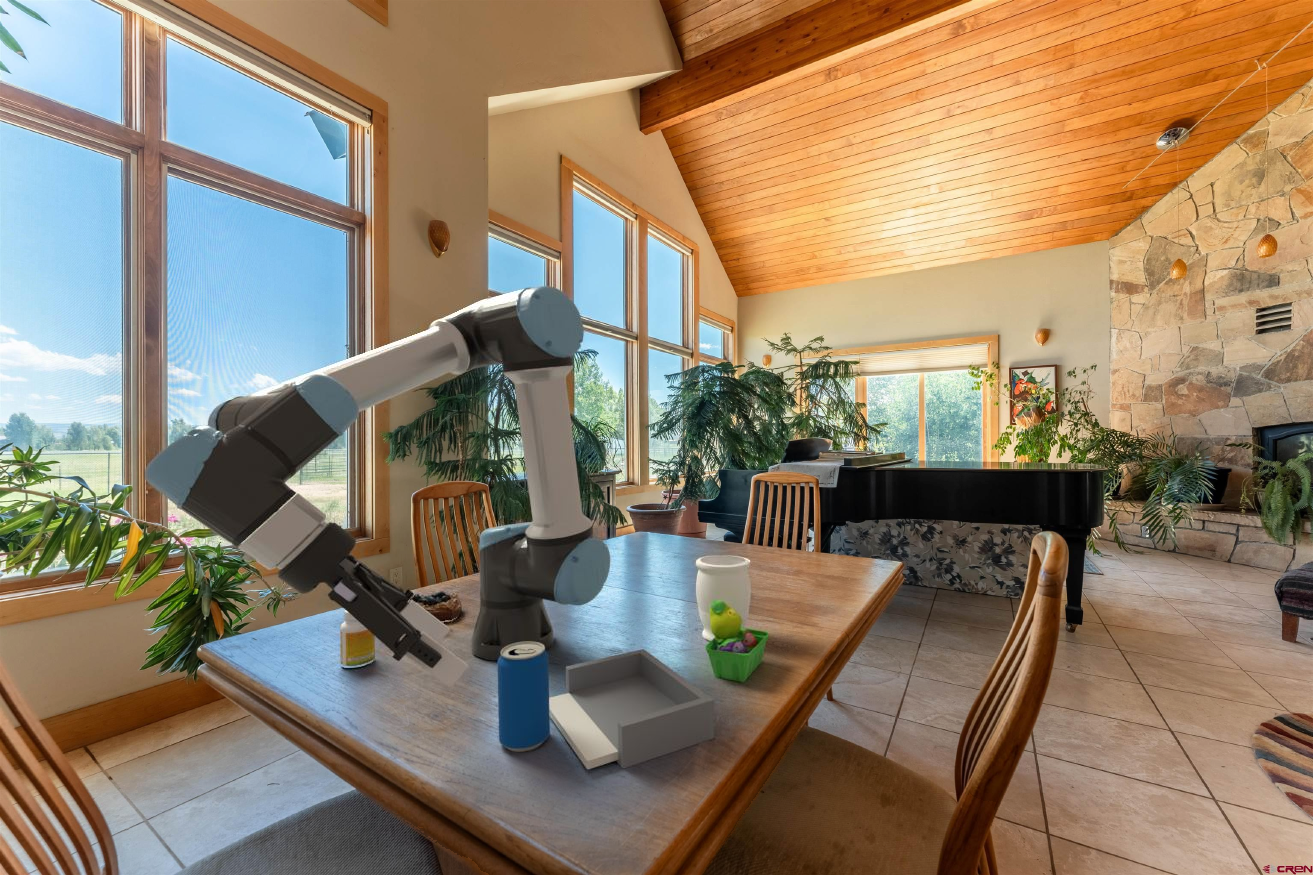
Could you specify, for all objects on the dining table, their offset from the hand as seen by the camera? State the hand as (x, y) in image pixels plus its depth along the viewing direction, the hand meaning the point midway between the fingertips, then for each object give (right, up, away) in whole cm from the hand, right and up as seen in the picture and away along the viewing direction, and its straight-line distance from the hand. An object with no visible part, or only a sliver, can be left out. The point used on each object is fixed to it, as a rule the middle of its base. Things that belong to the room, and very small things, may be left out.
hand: (450, 655), depth 68 cm
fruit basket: (+39, -13, +26) cm, 48 cm away
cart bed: (+20, -13, +9) cm, 26 cm away
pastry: (-25, -14, +56) cm, 62 cm away
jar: (+39, -13, +41) cm, 57 cm away
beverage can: (+8, -13, +5) cm, 16 cm away
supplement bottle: (-28, -14, +31) cm, 44 cm away
